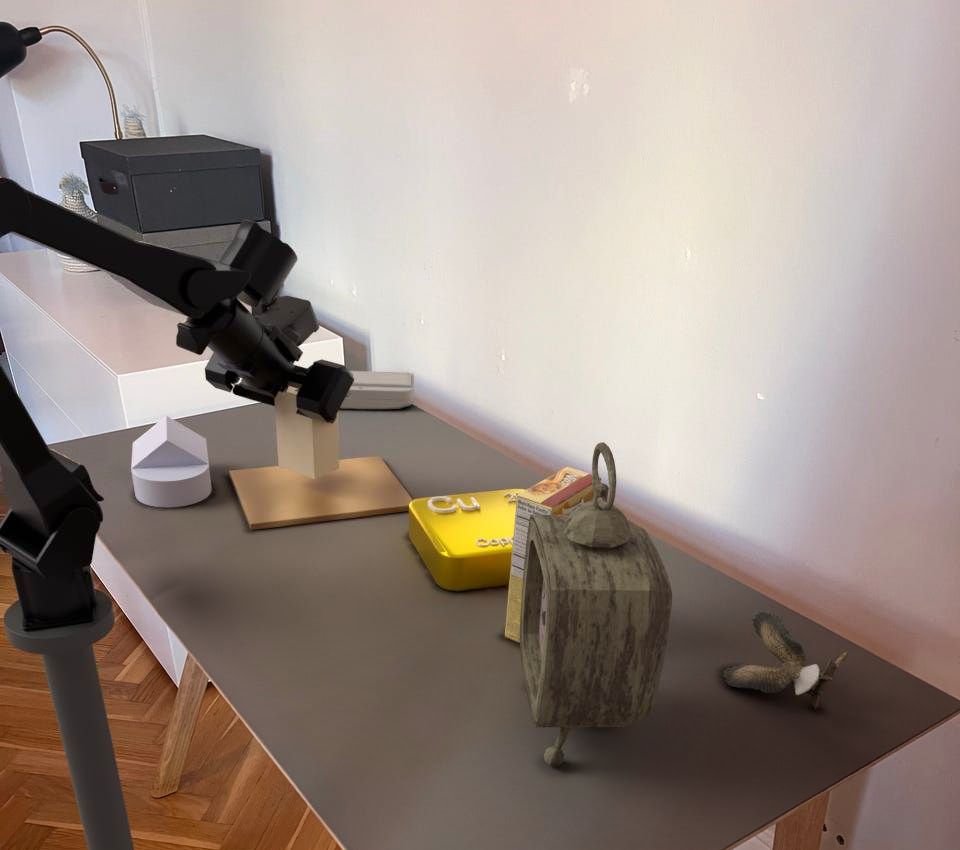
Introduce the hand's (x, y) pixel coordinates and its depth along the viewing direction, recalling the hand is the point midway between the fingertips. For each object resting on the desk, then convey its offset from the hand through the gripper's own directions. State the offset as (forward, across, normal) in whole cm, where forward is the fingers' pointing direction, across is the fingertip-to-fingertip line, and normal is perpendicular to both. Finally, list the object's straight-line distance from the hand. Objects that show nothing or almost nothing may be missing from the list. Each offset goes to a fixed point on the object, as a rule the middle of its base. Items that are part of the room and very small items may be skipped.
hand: (314, 413), depth 114 cm
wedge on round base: (-1, +14, +15) cm, 20 cm away
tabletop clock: (-9, -50, +23) cm, 56 cm away
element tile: (+6, -27, +8) cm, 28 cm away
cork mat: (+6, -1, +8) cm, 10 cm away
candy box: (0, -40, +15) cm, 42 cm away
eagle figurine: (+2, -62, +12) cm, 63 cm away
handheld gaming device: (+25, +16, -17) cm, 34 cm away
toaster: (+4, 0, +6) cm, 7 cm away
